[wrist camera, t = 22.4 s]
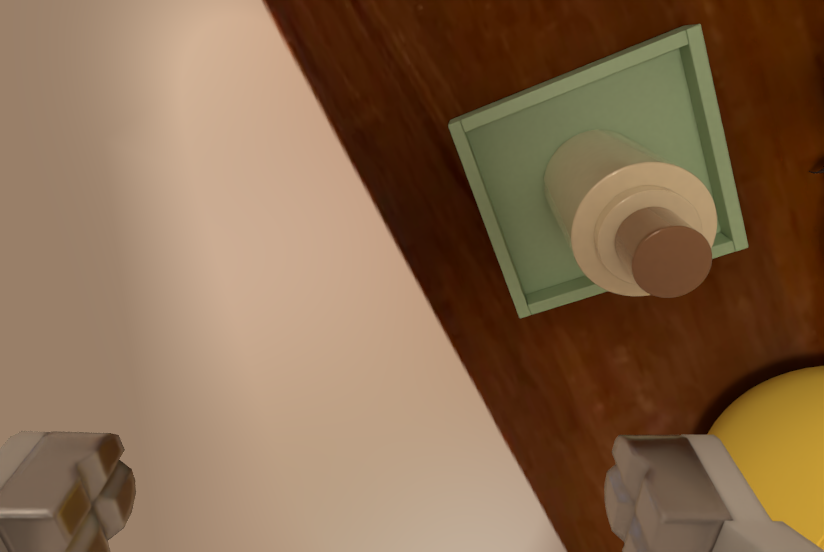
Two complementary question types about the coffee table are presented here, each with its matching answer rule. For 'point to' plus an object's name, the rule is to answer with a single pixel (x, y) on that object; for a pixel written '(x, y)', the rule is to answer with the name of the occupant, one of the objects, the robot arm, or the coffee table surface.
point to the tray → (579, 112)
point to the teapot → (782, 447)
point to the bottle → (631, 215)
